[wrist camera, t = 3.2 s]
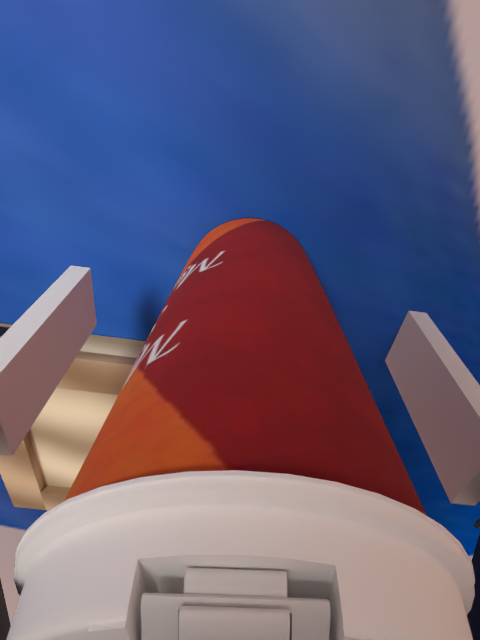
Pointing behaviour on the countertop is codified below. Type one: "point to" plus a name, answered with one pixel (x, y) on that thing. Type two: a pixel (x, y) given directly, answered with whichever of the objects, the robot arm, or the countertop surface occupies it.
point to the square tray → (68, 423)
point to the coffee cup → (243, 481)
